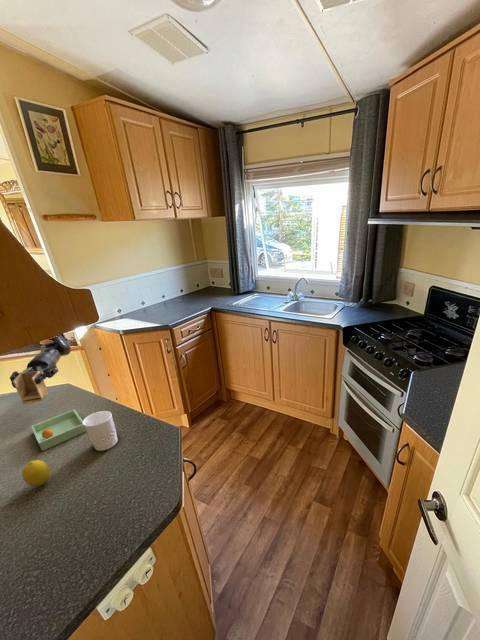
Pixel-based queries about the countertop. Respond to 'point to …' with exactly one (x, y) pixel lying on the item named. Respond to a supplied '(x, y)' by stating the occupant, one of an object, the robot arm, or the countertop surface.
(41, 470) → the lemon
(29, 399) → the open wooden box
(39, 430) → the tray
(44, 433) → the ball
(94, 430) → the white cup
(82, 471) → the countertop surface
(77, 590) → the countertop surface
